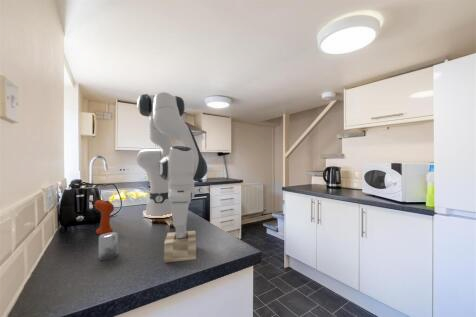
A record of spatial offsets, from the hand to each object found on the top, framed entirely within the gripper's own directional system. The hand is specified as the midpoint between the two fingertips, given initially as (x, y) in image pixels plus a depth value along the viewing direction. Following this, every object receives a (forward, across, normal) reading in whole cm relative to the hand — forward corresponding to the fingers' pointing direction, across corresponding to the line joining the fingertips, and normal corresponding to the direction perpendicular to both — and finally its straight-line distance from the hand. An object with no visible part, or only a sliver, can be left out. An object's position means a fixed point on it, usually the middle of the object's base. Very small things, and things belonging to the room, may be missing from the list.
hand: (181, 232), depth 70 cm
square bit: (+7, 0, 0) cm, 7 cm away
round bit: (+8, -4, -24) cm, 25 cm away
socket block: (+8, 0, 0) cm, 8 cm away
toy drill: (+8, -32, -38) cm, 50 cm away
